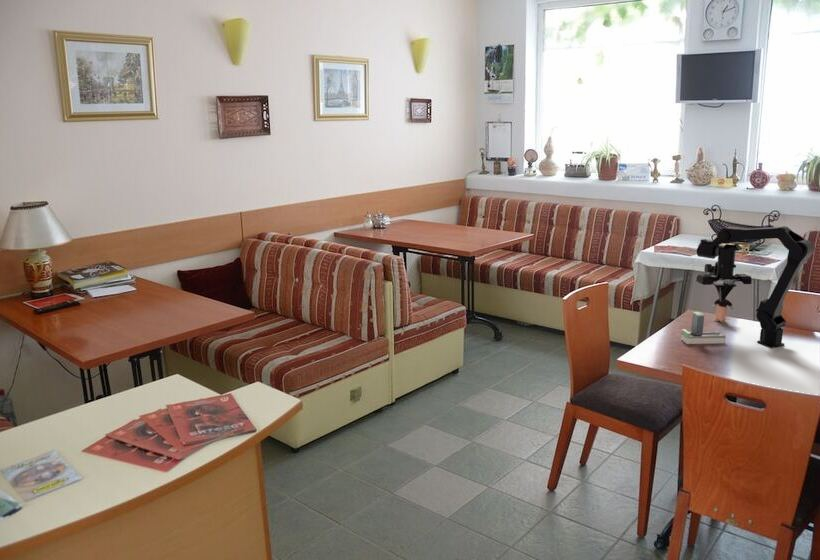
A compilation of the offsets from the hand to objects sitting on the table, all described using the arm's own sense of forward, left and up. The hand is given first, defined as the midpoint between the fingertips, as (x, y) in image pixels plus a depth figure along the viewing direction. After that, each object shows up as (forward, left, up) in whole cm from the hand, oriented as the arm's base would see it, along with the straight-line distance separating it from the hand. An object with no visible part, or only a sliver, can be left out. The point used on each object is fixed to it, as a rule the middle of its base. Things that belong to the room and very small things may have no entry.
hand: (721, 301), depth 260 cm
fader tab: (-5, +16, -10) cm, 20 cm away
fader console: (-6, +14, -12) cm, 19 cm away
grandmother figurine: (+10, -12, -12) cm, 20 cm away
